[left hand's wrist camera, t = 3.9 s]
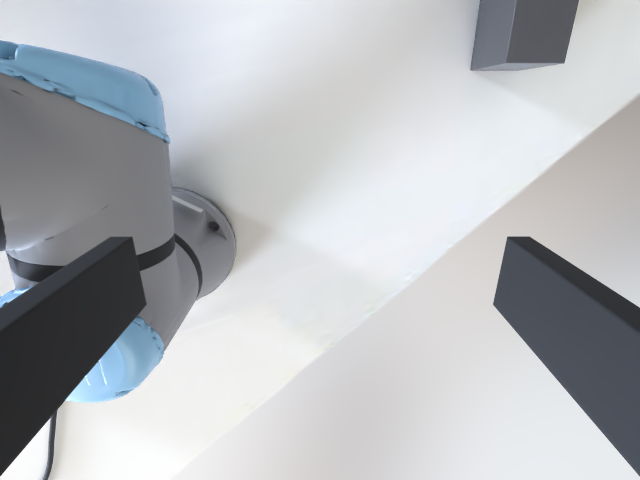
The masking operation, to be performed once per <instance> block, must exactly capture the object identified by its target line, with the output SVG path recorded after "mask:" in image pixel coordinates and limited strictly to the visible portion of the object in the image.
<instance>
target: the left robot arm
mask: <svg viewBox="0 0 640 480" xmlns="http://www.w3.org/2000/svg"><path fill="white" fill-rule="evenodd" d="M168 143H170V138H169V136H168V135H167V134H166V126H165V119H164V111H163V103H162V98H161V95H160V93H159V91H158V89H157V88H156V87H155V85H154V84H153V83H152V82H150V81H149V80H148V79H147V78H145V77H143V76H141V75H139V74H137V73H135V72H132V71H129V70H126V69H123V68H120V67H117V66H113V65H109V64H106V63H102V62H99V61H95V60H91V59H87V58H83V57H79V56H76V55H71V54H67V53H63V52H59V51H54V50H50V49H45V48H41V47H36V46H31V45H26V44H20V45H18V44H15V43H12V42H7V41H0V251H4V250H6V253H7V256H8V260H9V264H10V268H11V272H12V275H13V279H14V282H15V290H12V291H10V292H8V293H6V294H5V295H3V296H1V297H0V476H1V475H2V474H3V472H4V471H5V470H6V469H7V468H8V467H9V465H10V464H11V463H12V462H13V461H14V460H15V458H16V457H17V456H18V455H19V454H20V453H21V451H22V450H23V449H24V448H25V447H26V446H27V444H28V443H29V442H30V441H31V440H32V438H33V437H34V436H35V435H36V434H37V433H38V431H39V430H40V429H41V428H42V427H43V426H44V424H45V423H46V422H47V421H48V420H49V419H50V417H51V421H50V434H49V449H48V463H47V468H46V472H45V475H44V478H43V480H48V477H49V475H50V472H51V468H52V463H53V455H54V438H55V427H56V416H57V410H58V408H59V407H60V406H61V405H62V403H63V402H64V401H65V400H66V401H73V402H84V403H94V402H103V401H109V400H113V399H116V398H119V397H122V396H124V395H126V394H128V393H129V392H130V391H132V390H134V389H135V388H136V387H138V386H139V385H140V384H141V383H142V382H143V381H144V380H145V378H146V377H147V376H148V375H149V373H150V372H151V371H152V370H153V369H154V367H155V366H156V365H158V364H159V362H160V361H161V359H162V358H163V354H164V351H165V349H166V348H167V346H168V344H169V343H170V341H171V340H172V338H173V336H174V335H175V333H176V331H177V330H178V328H179V327H180V325H181V323H182V322H183V320H184V319H185V317H186V315H187V314H188V312H189V310H190V309H191V307H192V306H193V304H194V302H195V301H196V300H198V299H200V298H202V297H203V296H206V295H208V294H209V293H211V292H213V291H214V290H215V289H216V288H217V287H219V285H220V284H221V283H222V282H223V281H224V280H225V279H226V277H227V276H228V274H229V272H230V270H231V268H232V266H233V263H234V260H235V255H236V242H235V236H234V233H233V230H232V228H231V225H230V224H229V222H228V220H227V218H226V217H225V216H224V214H223V213H222V212H221V211H220V210H219V209H218V207H216V206H215V205H214V204H213V203H212V202H210V201H209V200H208V199H206V198H205V197H203V196H201V195H199V194H197V193H194V192H192V191H189V190H186V189H181V188H171V176H170V163H169V149H168ZM493 305H494V306H495V307H496V308H497V310H498V311H499V312H500V313H501V314H502V316H503V317H504V318H505V319H506V320H507V321H508V322H509V324H510V325H511V326H512V327H513V328H514V330H515V331H516V332H517V333H518V334H519V335H520V337H521V338H522V339H523V340H524V341H525V342H526V344H527V345H528V346H529V347H530V348H531V349H532V351H533V352H534V353H535V354H536V355H537V356H538V358H539V359H540V360H541V361H542V362H543V364H544V365H545V366H546V367H547V368H548V369H549V371H550V372H551V373H552V374H553V375H554V376H555V378H556V379H557V380H558V381H559V382H560V383H561V385H562V386H563V387H564V388H565V389H566V390H567V392H568V393H569V394H570V395H571V396H572V397H573V399H574V400H575V401H576V402H577V403H578V405H579V406H580V407H581V408H582V409H583V410H584V412H585V413H586V414H587V415H588V416H589V417H590V419H591V420H592V421H593V422H594V423H595V424H596V426H597V427H598V428H599V429H600V430H601V431H602V433H603V434H604V435H605V436H606V437H607V438H608V440H609V441H610V442H611V443H612V444H613V445H614V447H615V448H616V449H617V450H618V451H619V453H620V454H621V455H622V456H623V457H624V458H625V460H626V461H627V462H628V463H629V464H630V465H631V467H632V468H633V469H634V470H635V471H636V472H637V474H638V475H639V476H640V308H639V307H638V306H636V305H635V304H633V303H632V302H630V301H628V300H627V299H625V298H624V297H622V296H621V295H619V294H618V293H616V292H614V291H613V290H611V289H610V288H608V287H607V286H605V285H604V284H602V283H601V282H599V281H597V280H596V279H594V278H593V277H591V276H590V275H588V274H587V273H585V272H583V271H582V270H580V269H579V268H577V267H576V266H574V265H573V264H571V263H569V262H568V261H566V260H565V259H563V258H562V257H560V256H559V255H557V254H556V253H554V252H552V251H551V250H549V249H548V248H546V247H545V246H543V245H542V244H540V243H538V242H537V241H535V240H534V239H532V238H531V237H507V241H506V246H505V251H504V256H503V260H502V265H501V270H500V275H499V279H498V284H497V289H496V294H495V298H494V303H493Z"/></svg>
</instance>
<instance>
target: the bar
mask: <svg viewBox="0 0 640 480" xmlns="http://www.w3.org/2000/svg"><path fill="white" fill-rule="evenodd" d="M578 2H579V0H480V7H479V14H478V21H477V28H476V35H475V42H474V49H473V56H472V63H471V71H518V70H525V69H531V68H537V67H544V66H550V65H556V64H563V63H564V62H565V58H566V54H567V49H568V45H569V41H570V36H571V32H572V28H573V23H574V19H575V15H576V10H577V6H578Z"/></svg>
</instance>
